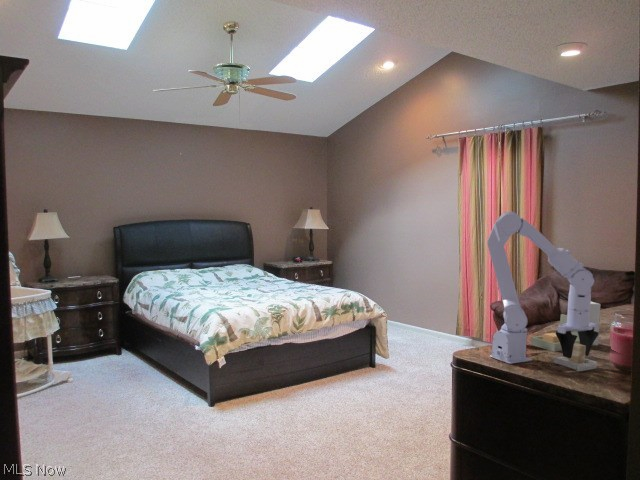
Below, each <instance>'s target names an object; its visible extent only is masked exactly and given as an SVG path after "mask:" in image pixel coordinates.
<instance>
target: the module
mask: <svg viewBox="0 0 640 480" xmlns="http://www.w3.org/2000/svg"><path fill="white" fill-rule="evenodd" d="M542 336H543V340H545V341H549V342H552V343H558V342H560V341H559V339H558V337H557V335H556V332H550V333H549V332H547V333H543V334H542Z"/></svg>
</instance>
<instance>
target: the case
mask: <svg viewBox="0 0 640 480" xmlns="http://www.w3.org/2000/svg"><path fill="white" fill-rule="evenodd" d="M559 319H560V320H559V325H563V324H565V323H567V314H562V313H561V314H560V318H559ZM571 333H572V335H576V336H577V338H576V340H575V343H578V344H580V340H579V335H578V332H571ZM530 345H531V346H533V347H538V348H540V349H544V350H548V351H551V352H554V353H555V352H562V348H561V344H560V342H558V343H552V342H549V341H545V340H543V335H539V336H531V337H530Z"/></svg>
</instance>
